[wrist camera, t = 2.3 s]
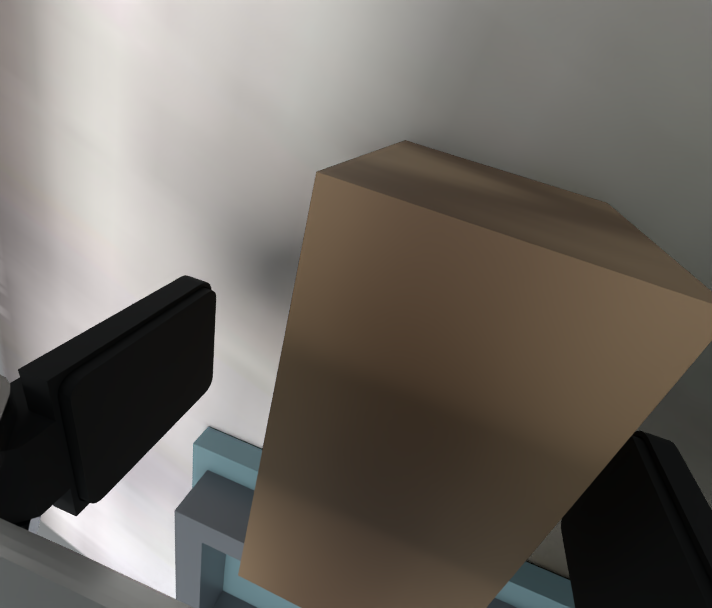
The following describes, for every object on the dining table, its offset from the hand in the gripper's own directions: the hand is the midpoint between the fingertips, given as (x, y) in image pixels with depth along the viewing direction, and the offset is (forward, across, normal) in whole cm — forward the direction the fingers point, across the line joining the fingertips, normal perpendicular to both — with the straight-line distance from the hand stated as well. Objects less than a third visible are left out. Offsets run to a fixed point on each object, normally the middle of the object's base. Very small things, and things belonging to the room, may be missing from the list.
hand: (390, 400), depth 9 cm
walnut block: (+4, -1, 0) cm, 4 cm away
